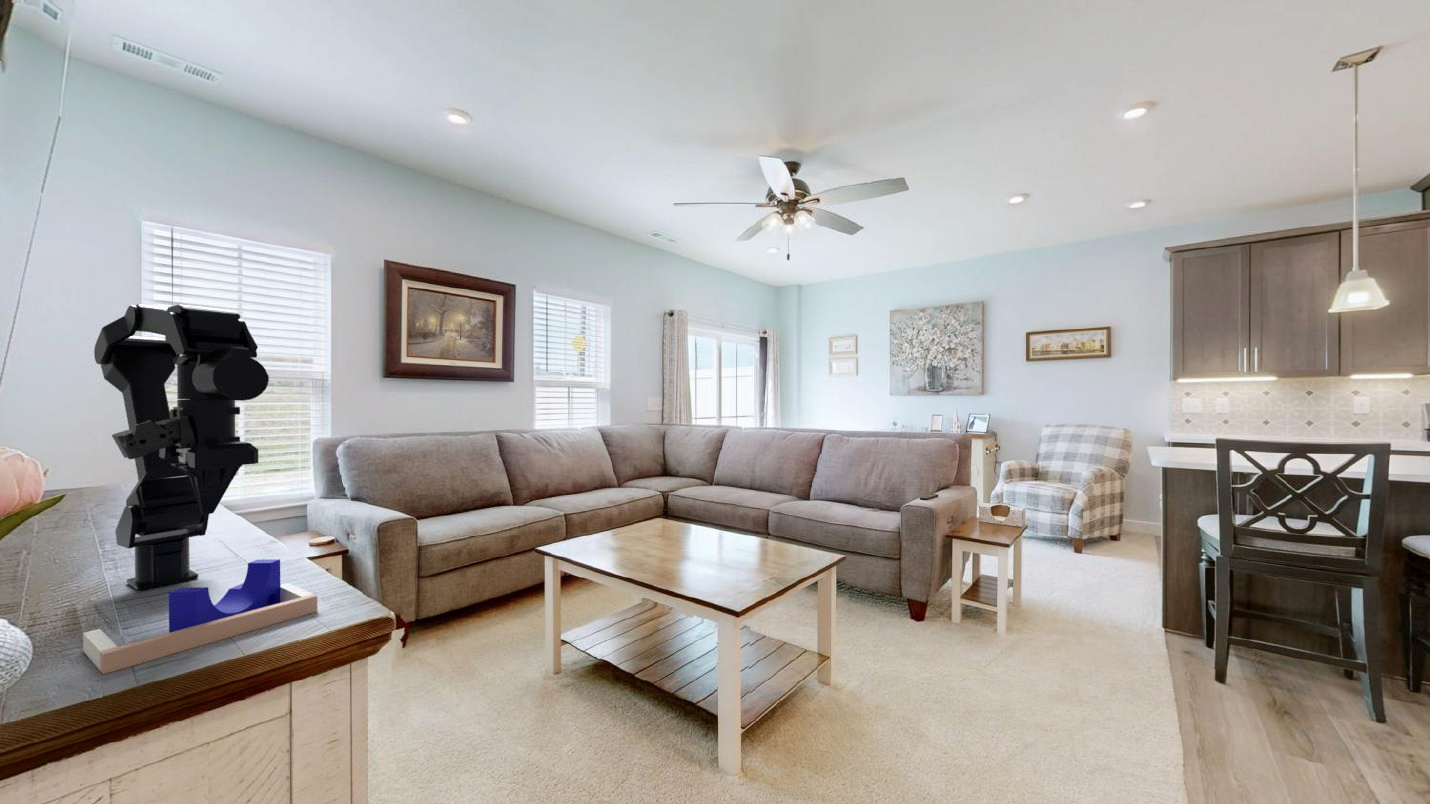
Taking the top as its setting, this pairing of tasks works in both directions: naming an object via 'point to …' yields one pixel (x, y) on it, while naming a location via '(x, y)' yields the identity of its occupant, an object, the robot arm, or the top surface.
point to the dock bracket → (196, 632)
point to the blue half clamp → (226, 597)
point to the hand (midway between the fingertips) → (207, 513)
